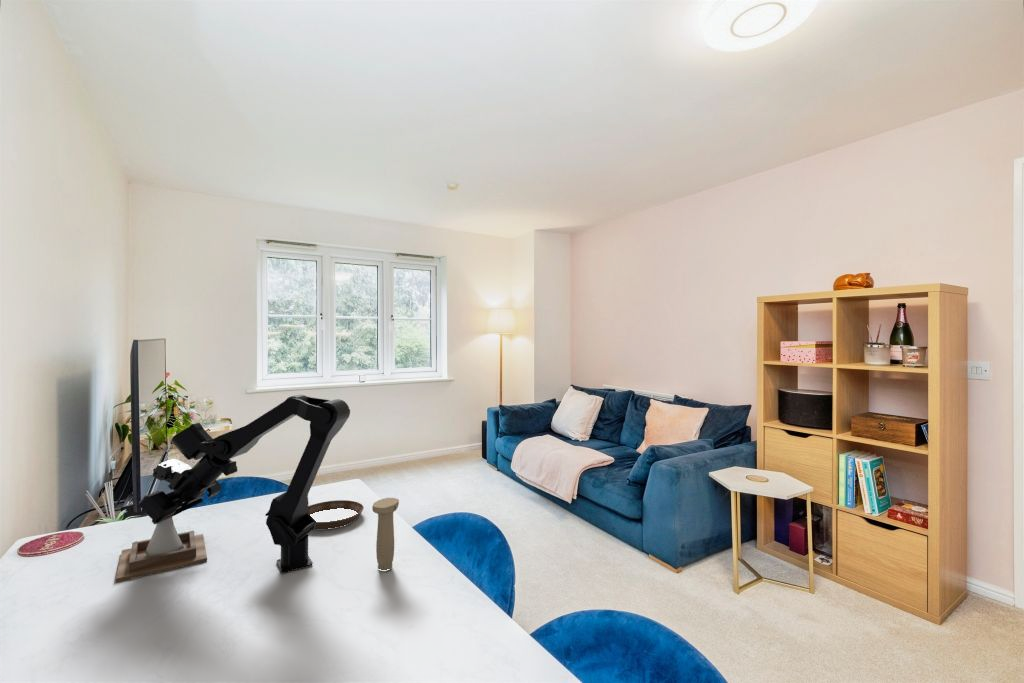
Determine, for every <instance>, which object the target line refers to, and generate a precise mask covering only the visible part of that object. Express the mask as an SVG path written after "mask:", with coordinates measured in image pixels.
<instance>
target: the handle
mask: <svg viewBox="0 0 1024 683" xmlns="http://www.w3.org/2000/svg"><path fill="white" fill-rule="evenodd" d="M399 502H400V499H399V498H395V497H384V498H382V499H378V500H376V501H375V502H373V504H372V508H371V509H372V512H373V513H375V514H377V528H376V529H377V530H376V544H375V546H376V547H375V548H376V552H375V553H376V561H377V570H378V569H381V570H387V569H391V568H392V569H393V561H394V558H395V557H394V556H395V526H394V512H396V511H397V510H398V507H399ZM392 569H391V570H392Z"/></svg>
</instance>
